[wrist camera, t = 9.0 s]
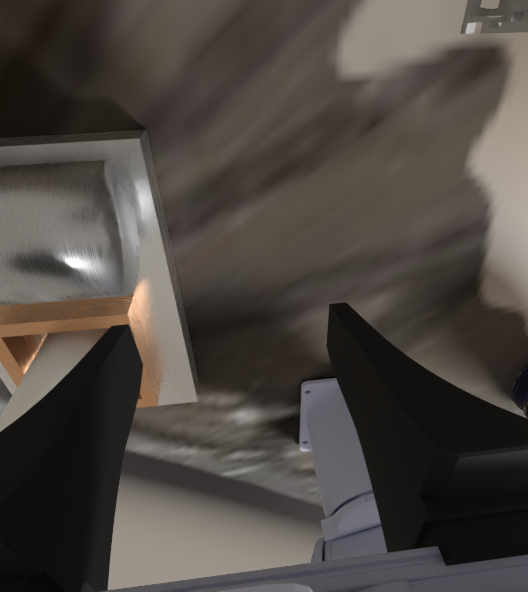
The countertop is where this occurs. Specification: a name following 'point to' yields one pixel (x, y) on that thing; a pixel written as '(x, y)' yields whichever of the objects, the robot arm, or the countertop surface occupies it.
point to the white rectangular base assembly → (90, 255)
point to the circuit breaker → (497, 17)
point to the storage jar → (521, 390)
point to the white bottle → (49, 369)
